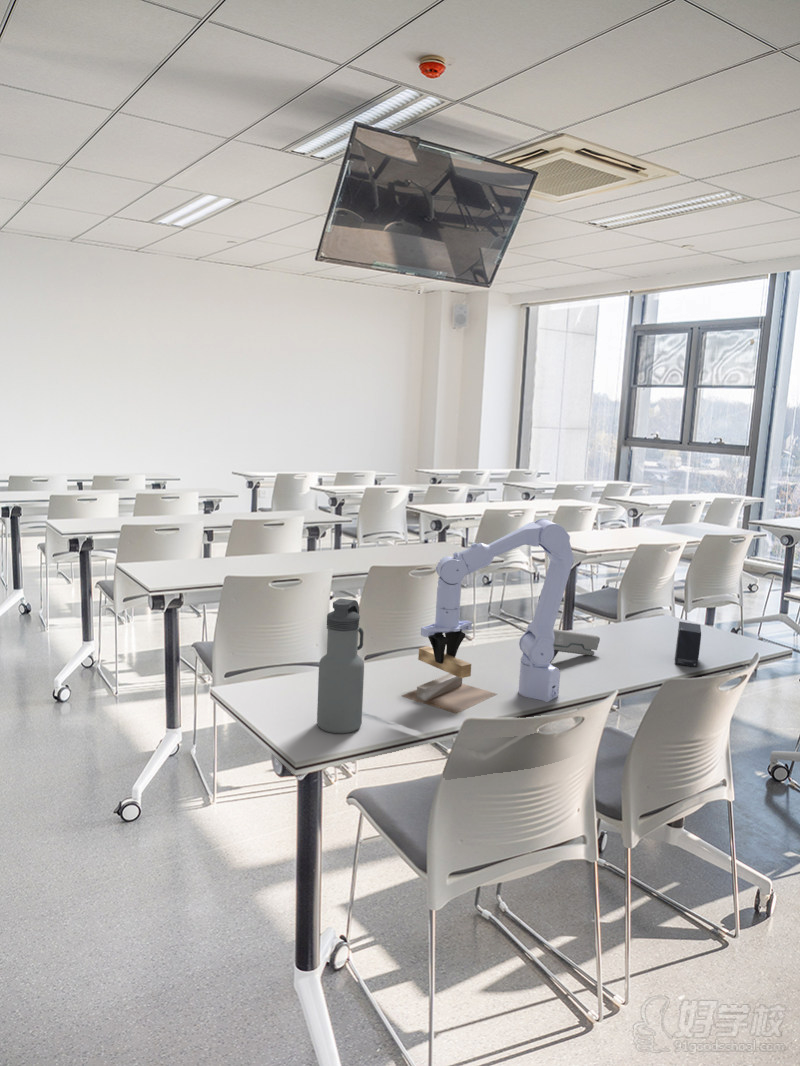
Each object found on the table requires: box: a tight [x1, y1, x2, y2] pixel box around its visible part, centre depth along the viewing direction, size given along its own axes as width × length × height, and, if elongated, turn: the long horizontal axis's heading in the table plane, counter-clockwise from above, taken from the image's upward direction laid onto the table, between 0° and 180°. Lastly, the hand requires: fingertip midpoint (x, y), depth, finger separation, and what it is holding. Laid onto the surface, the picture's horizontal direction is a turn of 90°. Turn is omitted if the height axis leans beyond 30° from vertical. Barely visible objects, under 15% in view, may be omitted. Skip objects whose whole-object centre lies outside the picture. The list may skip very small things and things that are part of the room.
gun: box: [550, 628, 601, 664], centre depth 233 cm, size 2×25×10 cm, turn 125°
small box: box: [674, 621, 702, 668], centre depth 237 cm, size 11×6×10 cm, turn 161°
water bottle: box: [316, 598, 365, 734], centre depth 175 cm, size 10×10×28 cm
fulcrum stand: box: [401, 673, 498, 714], centre depth 197 cm, size 16×18×4 cm
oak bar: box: [417, 646, 472, 679], centre depth 197 cm, size 16×3×3 cm, turn 38°
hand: (444, 661), depth 197 cm, fingers closed on oak bar, 3 cm apart
